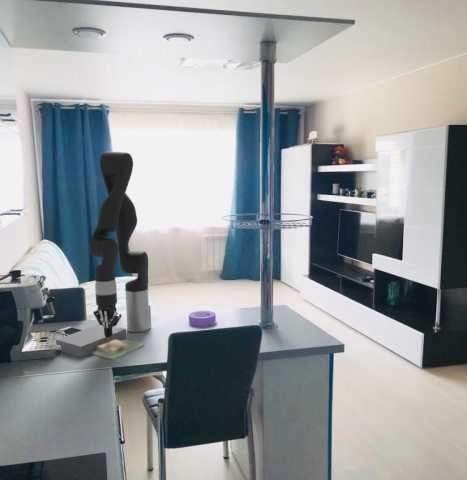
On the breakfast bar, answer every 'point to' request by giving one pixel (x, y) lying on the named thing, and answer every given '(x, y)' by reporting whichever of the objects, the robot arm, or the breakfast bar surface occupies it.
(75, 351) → the gray rectangular box
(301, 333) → the breakfast bar surface
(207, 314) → the masking tape
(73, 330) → the smartphone
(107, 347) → the cork coaster
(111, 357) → the sage mat
